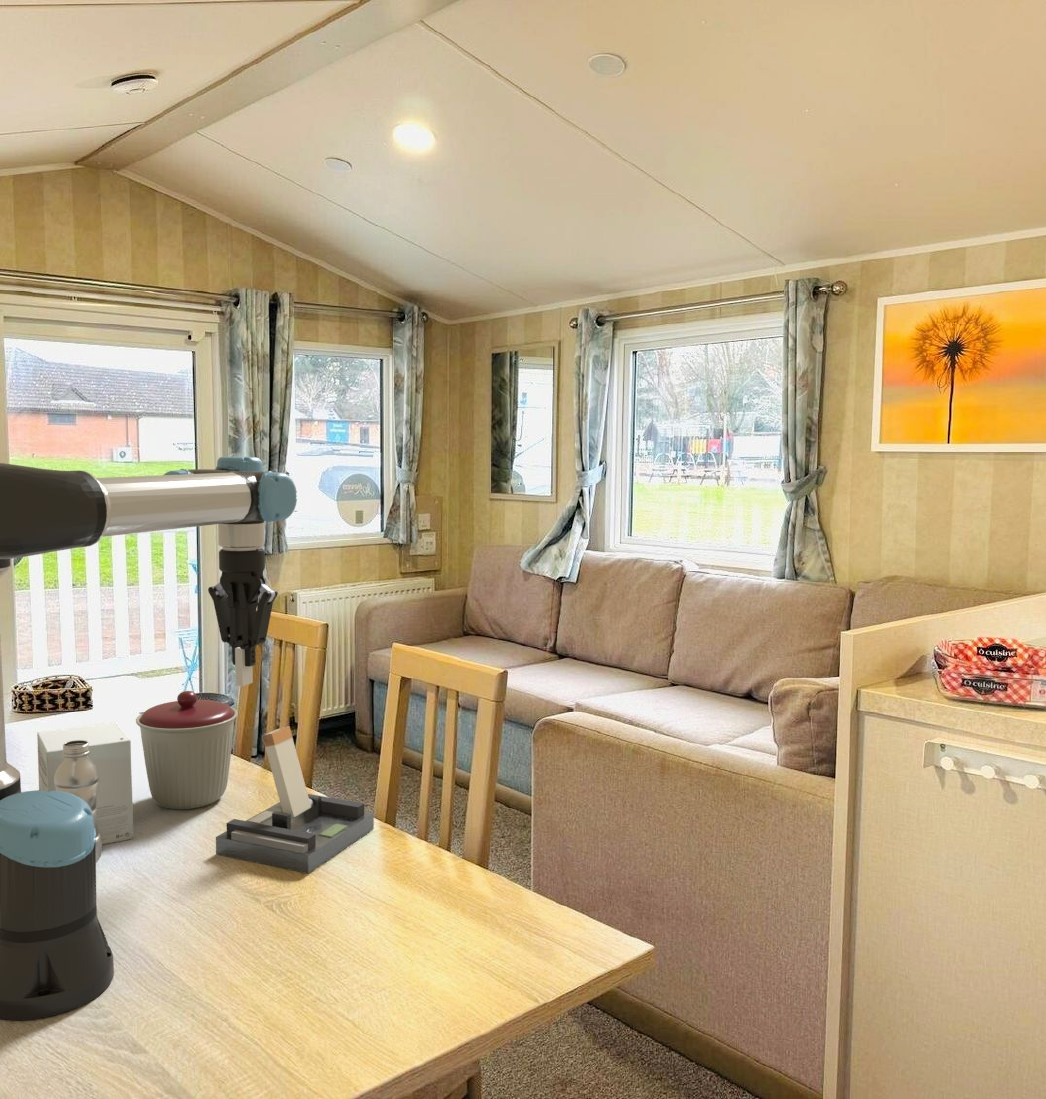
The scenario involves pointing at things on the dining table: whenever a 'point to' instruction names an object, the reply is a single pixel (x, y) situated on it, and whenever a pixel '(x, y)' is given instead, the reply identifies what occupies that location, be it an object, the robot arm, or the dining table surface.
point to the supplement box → (113, 768)
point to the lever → (287, 771)
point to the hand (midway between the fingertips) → (244, 683)
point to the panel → (327, 828)
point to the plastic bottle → (80, 779)
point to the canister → (187, 750)
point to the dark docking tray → (287, 837)
